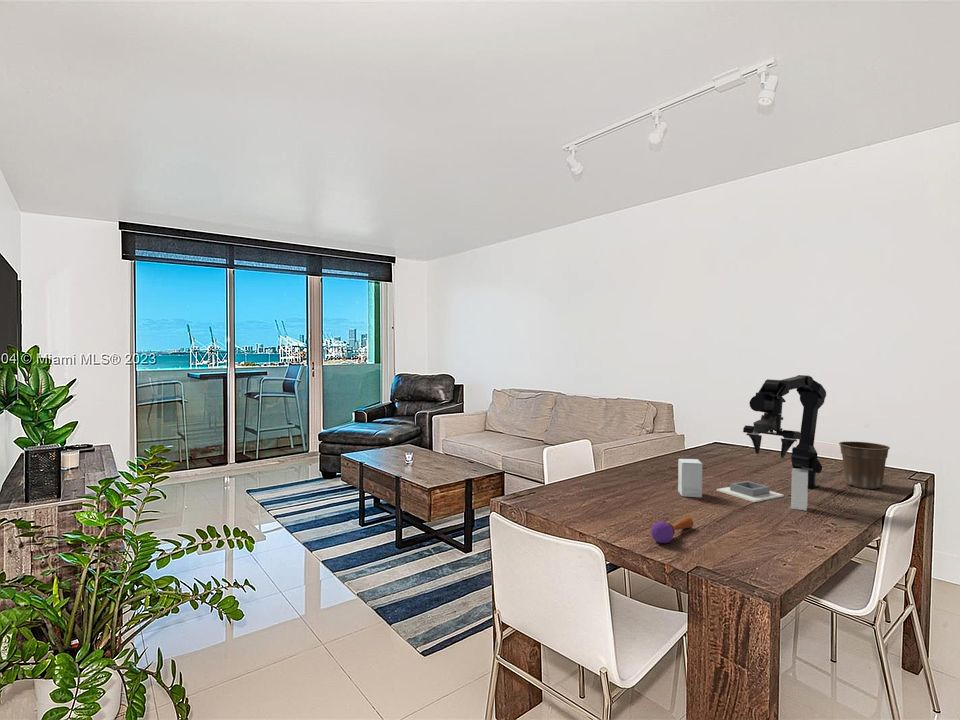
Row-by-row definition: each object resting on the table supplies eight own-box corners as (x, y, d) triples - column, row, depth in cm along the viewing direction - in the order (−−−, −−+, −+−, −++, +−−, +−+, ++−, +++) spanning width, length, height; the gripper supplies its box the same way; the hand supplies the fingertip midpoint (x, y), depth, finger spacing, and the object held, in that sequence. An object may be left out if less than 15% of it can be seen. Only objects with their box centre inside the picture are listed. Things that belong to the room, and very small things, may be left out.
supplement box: (702, 497, 191) (702, 463, 191) (681, 496, 193) (681, 462, 192) (698, 492, 198) (698, 459, 198) (677, 490, 200) (678, 458, 199)
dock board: (745, 487, 207) (745, 477, 207) (783, 497, 193) (784, 488, 193) (716, 492, 200) (716, 482, 200) (754, 503, 186) (754, 493, 186)
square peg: (792, 505, 182) (792, 468, 182) (807, 507, 180) (808, 469, 179) (790, 508, 179) (791, 470, 178) (806, 510, 176) (807, 472, 176)
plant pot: (832, 478, 217) (833, 439, 217) (879, 481, 212) (880, 442, 212) (845, 488, 202) (846, 447, 202) (896, 492, 197) (897, 450, 196)
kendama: (699, 517, 159) (669, 528, 145) (695, 535, 160) (664, 549, 146) (681, 509, 163) (650, 519, 149) (676, 527, 164) (645, 539, 150)
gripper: (736, 409, 197) (732, 451, 196) (786, 414, 181) (783, 459, 180) (753, 411, 203) (750, 452, 202) (803, 416, 187) (800, 460, 186)
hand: (769, 455), depth 193 cm, fingers open, 9 cm apart
